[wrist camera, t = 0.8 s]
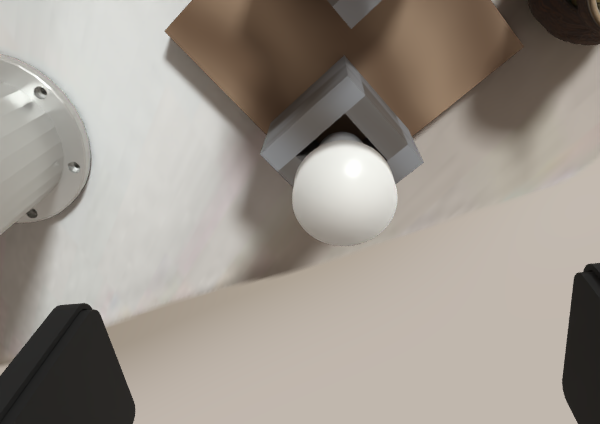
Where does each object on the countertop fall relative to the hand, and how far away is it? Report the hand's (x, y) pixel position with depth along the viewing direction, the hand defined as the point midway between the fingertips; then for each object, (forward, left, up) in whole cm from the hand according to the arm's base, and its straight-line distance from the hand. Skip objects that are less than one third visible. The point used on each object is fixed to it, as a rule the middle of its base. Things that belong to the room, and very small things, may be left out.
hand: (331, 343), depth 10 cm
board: (+2, +1, -27) cm, 27 cm away
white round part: (-2, -3, -19) cm, 19 cm away
